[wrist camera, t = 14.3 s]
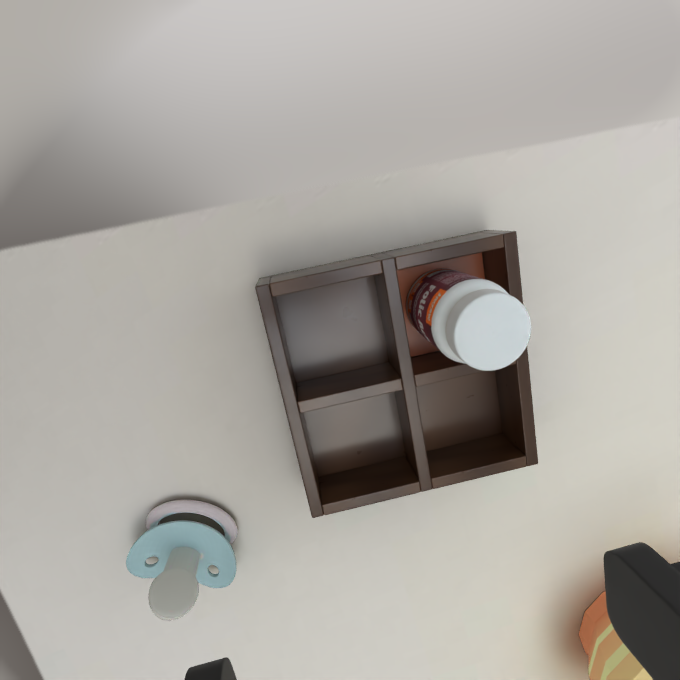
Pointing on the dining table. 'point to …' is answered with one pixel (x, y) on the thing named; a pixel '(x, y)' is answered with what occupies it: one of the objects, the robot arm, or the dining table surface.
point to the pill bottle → (469, 318)
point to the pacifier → (183, 556)
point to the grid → (392, 377)
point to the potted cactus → (607, 647)
